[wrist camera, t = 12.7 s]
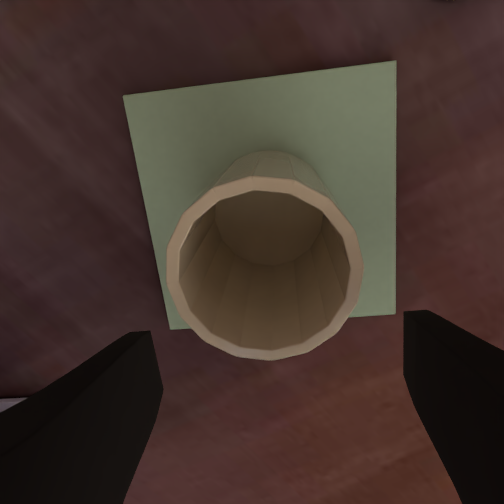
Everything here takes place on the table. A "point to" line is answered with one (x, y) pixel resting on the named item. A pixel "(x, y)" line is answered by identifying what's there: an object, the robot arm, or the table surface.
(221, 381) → the table surface
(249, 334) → the cup
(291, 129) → the mat
